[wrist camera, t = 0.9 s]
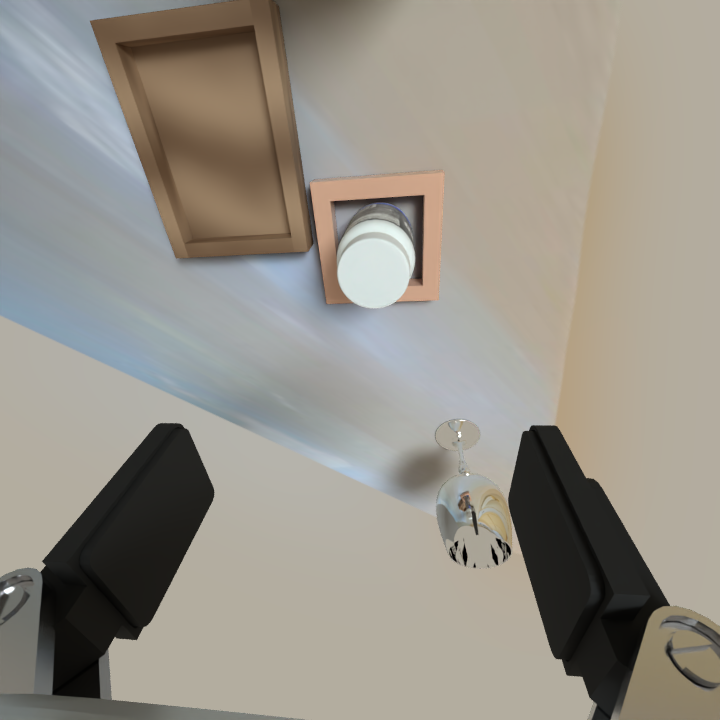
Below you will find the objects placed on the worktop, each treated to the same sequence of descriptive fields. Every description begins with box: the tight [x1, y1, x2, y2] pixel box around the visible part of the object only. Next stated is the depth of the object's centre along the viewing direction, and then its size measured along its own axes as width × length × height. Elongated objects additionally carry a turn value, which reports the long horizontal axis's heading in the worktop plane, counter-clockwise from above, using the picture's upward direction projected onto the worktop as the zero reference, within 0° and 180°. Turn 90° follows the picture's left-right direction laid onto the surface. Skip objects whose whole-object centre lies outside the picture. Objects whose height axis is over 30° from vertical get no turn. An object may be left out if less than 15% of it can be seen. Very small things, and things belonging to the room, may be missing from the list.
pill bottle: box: [337, 202, 415, 309], centre depth 23 cm, size 5×5×8 cm
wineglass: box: [435, 419, 512, 569], centre depth 32 cm, size 6×6×12 cm
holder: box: [310, 170, 445, 304], centre depth 26 cm, size 9×9×2 cm
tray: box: [90, 0, 314, 258], centre depth 23 cm, size 13×10×2 cm
